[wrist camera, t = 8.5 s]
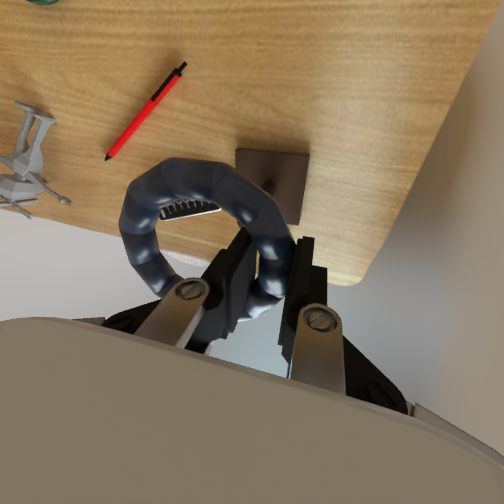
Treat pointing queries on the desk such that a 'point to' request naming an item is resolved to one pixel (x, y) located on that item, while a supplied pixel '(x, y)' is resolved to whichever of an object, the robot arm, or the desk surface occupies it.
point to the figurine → (27, 164)
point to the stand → (277, 177)
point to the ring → (224, 196)
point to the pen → (146, 110)
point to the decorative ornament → (42, 2)
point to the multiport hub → (186, 209)
